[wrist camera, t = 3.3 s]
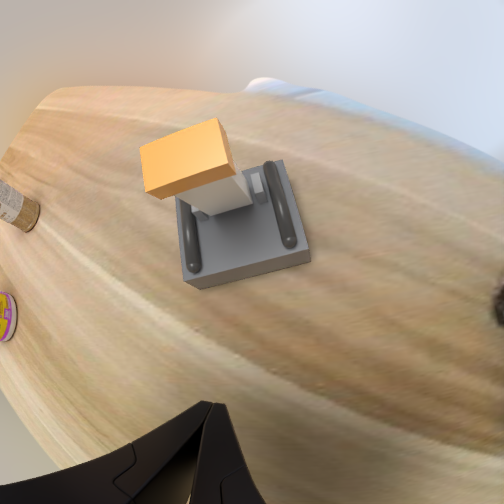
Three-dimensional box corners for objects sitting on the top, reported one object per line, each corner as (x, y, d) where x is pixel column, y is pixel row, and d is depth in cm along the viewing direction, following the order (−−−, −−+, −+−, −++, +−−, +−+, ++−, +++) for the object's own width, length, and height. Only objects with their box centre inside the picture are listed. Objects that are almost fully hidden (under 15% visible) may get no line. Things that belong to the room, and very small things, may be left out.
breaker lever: (259, 206, 21) (228, 163, 12) (206, 221, 22) (145, 192, 13) (251, 174, 21) (216, 117, 12) (199, 191, 22) (139, 147, 13)
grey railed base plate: (310, 261, 22) (307, 240, 18) (199, 289, 24) (173, 275, 20) (287, 179, 25) (279, 146, 21) (189, 208, 26) (166, 183, 22)
